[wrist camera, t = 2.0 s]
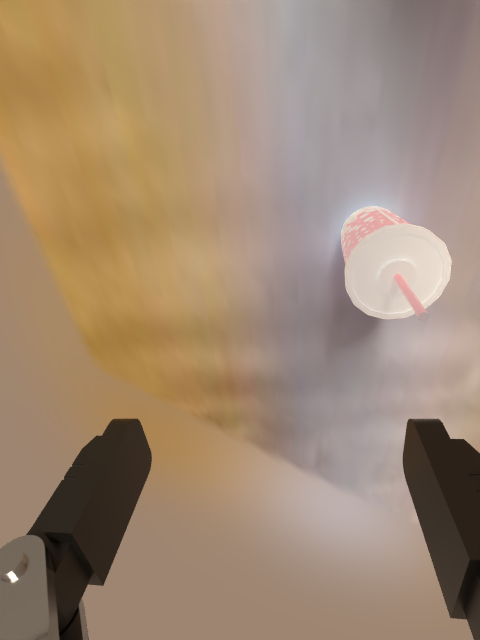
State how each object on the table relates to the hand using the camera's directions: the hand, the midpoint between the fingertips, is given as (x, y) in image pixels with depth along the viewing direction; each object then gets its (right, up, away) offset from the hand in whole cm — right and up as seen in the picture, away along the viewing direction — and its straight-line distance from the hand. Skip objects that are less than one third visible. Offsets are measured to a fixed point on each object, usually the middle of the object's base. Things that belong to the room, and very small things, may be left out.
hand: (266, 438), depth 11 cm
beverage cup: (+10, +11, +19) cm, 24 cm away
